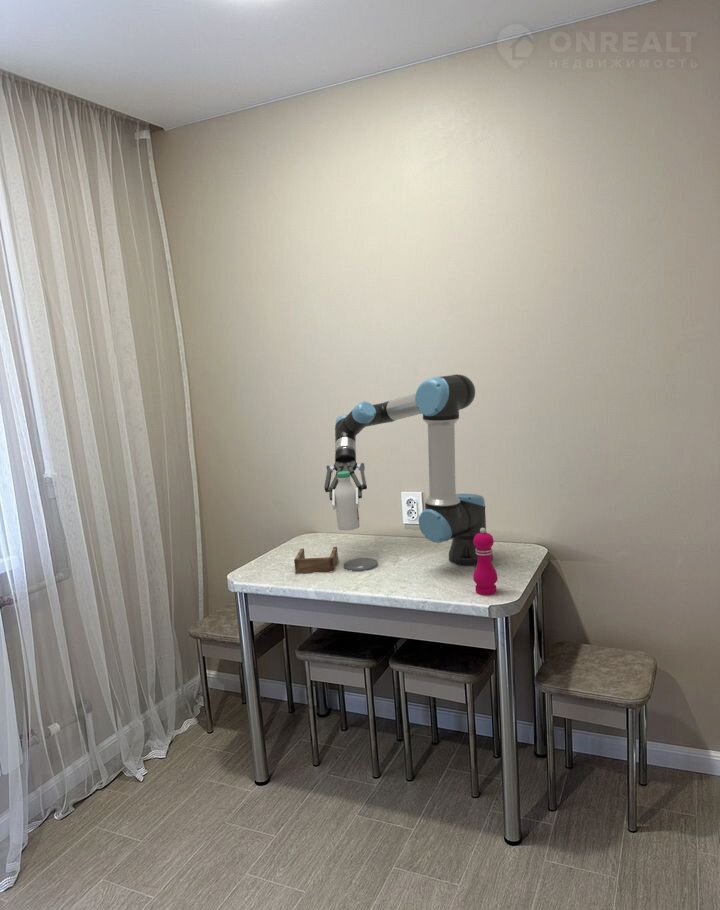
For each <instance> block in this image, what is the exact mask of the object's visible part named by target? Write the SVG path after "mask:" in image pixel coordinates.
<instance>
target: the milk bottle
mask: <svg viewBox="0 0 720 910" xmlns="http://www.w3.org/2000/svg"><path fill="white" fill-rule="evenodd" d="M337 477H338V478H337V479H338V484H337V486H336V488H335V503H336V509H335V513H336V523H337V528H338V530H340V531H351V530H352V531H353V530H356V529H359V528H360V525H361V524H360V514H359V513H360V512H359V508H357V506H356V488H355V487H354V486H353V484H352V481H351V479H352V477H351V475H350V472H349V471H341V472H338V473H337Z"/></svg>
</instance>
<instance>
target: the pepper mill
mask: <svg viewBox="0 0 720 910" xmlns="http://www.w3.org/2000/svg"><path fill="white" fill-rule="evenodd" d="M480 532H481V533H478V534H476V535H475V537H474V540H473V543H474V545H475V547H476V554H477V556H478V563H477V565H476V566H475V569H474V572H473V582H474V583H475V586H474V587H475V593H476V594H477V595H482V596H491V595H494V594H495V592H496V593H497V585H496V583H497V582H498V573H497V571H496V569H495V567H494V565H493V562H492V561H493V560H492V561H491V554H493V546H494V543H495V541H494V538H493V536H492V535H491V534H490V533H488V532H487V528H486V529H485V528H481V529H480Z"/></svg>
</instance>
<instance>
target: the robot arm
mask: <svg viewBox="0 0 720 910" xmlns="http://www.w3.org/2000/svg"><path fill="white" fill-rule="evenodd" d="M475 397H476V387H475V385H474V383H473V381H472V380H471V379H470V378H469V377H468V376H465V375H463V374H451V375H450V374H449V375H444V376H443V375H441V376H433V377H431V378H428V379H425V380H424V381H422V382H421V383H420V385H419V384H418V387H417V389H416V391H415V393H413V394H409V395H408V394H407V395H406V396H403V397H402V396H401V397H398V398H395V399H392V400H389V401H385V402H381V403H376V404H372V403H370V402H368V401H360V402H359V403H358V404H357V405H355V406H354V407H353V409H352V410H351V411H350V412H348V414H342V415H341V416H340V415H339V416H338V417H337V418H336V419H335V424H334V425H335V427H334V431H335V432H334V437H335V438H334V439H335V441H334V443H335V445H334V464H333V465H332V466H331V465H326V467H325V469H326V475H325V482H324V486H323V487H324V491H325V493H329V494H328V495H329V496H328V497H329V500H330V501H331V502H332V503H331V504H332V509H333V510H336V503H335V492H336V489H337V486H338V479H337V478H338V477H337V473H338V472H341V471H349V472H350V477H351V479H352V480H353V482H354V484H355V486H356V487H355V491H356V506H357V508H358V509H359V508H360V499H362V498H363V490H367V489H368V487H367V480H366V475H365V469H366V468H365V467H366V466H365V463H364V462H361V463H358V462H357V454H356V453H357V449H356V448H357V445H356V443H357V442H356V439H357V438H356V436H358V434H359V433H361V432H362V430H363V429H365V428H367V427H372V426H376V425H381V424H386V423H387V424H388V423H389V424H390V423H393V422H395V421H398V420H402V419H405V418H410V417H413V416H418V415H421V414H422V421H424V422H425V423H426V424H427V442H428V443H427V448H428V482H429V483H428V489H429V490H428V491H429V496H428V497H427V498H425V500H424V507H425V508H424V510H422V511H421V513H420V514H419V516H418V526H419V530H420V532H421V534H422V535H424V537H425V539H427V540H428V541H430V542H432V543H437V544H438V543H439V544H440V543H442V542H443V543H444V542H448V541H450V540H451V539H452V540H451V544H450V548H449V552H448V561H449V562H450V563H451V564H455V565H457V566H477V563H478V556H477V554H476V547H475V545H474V543H473V540H474V537H475V535H476V534H478V533H481V532H480V529H481V528H485V529H486V530H487V522H486V521H487V520H486V516H487V515H486V504H485V503H486V502H485V498H484V496H482V495H480V494H475V493H456V448H455V447H456V442H455V441H456V440H455V439H456V438H455V435H456V434H455V432H456V431H455V423H457V422H458V420H459V419H460V410H463V409H466V408H468V407H469V406H470V405H471V404H473V401H474V399H475ZM357 468H358V471H360V477H361V482H362V484H361V482H360V480H359V479H358V477H357V475H356V473H355V471H356V470H357ZM334 471H335V475H334V477H333V479H332V474H333V472H334ZM331 479H332V482H331ZM493 557H494V555H493V553H492V554H491V560H492V561H493Z"/></svg>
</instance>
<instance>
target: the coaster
mask: <svg viewBox="0 0 720 910" xmlns="http://www.w3.org/2000/svg"><path fill="white" fill-rule="evenodd" d="M378 566H379V561H378V560H377V559H375V558H373V557H358V558H351V559H349V560H346V561H344V563H343V568H344V570H346V569H347V570H346V571H349V570H352V571H351V572H364V570H367V571H370V569H371V570H373V568H374V569H376V568H377V567H378ZM375 567H376V568H375Z"/></svg>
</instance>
